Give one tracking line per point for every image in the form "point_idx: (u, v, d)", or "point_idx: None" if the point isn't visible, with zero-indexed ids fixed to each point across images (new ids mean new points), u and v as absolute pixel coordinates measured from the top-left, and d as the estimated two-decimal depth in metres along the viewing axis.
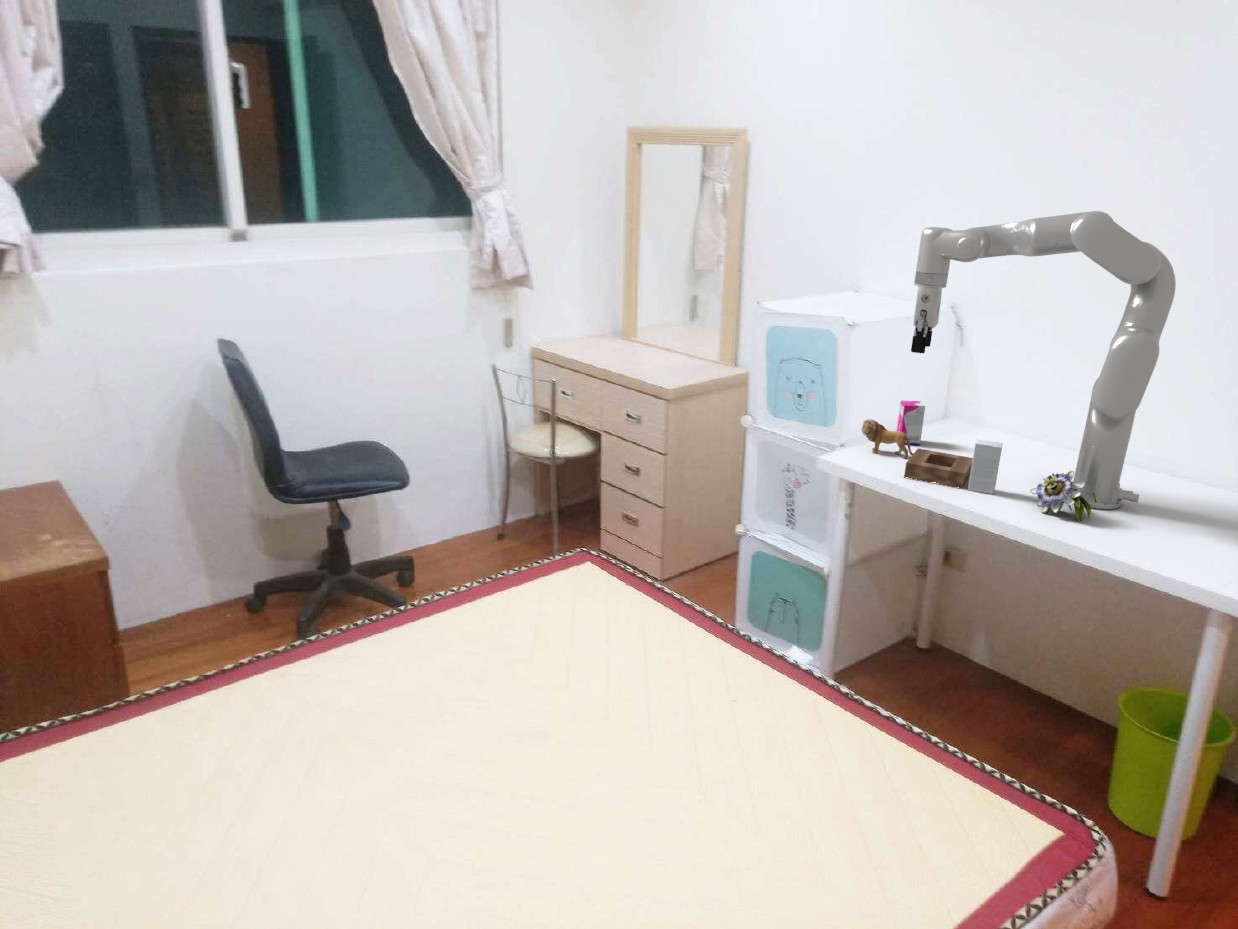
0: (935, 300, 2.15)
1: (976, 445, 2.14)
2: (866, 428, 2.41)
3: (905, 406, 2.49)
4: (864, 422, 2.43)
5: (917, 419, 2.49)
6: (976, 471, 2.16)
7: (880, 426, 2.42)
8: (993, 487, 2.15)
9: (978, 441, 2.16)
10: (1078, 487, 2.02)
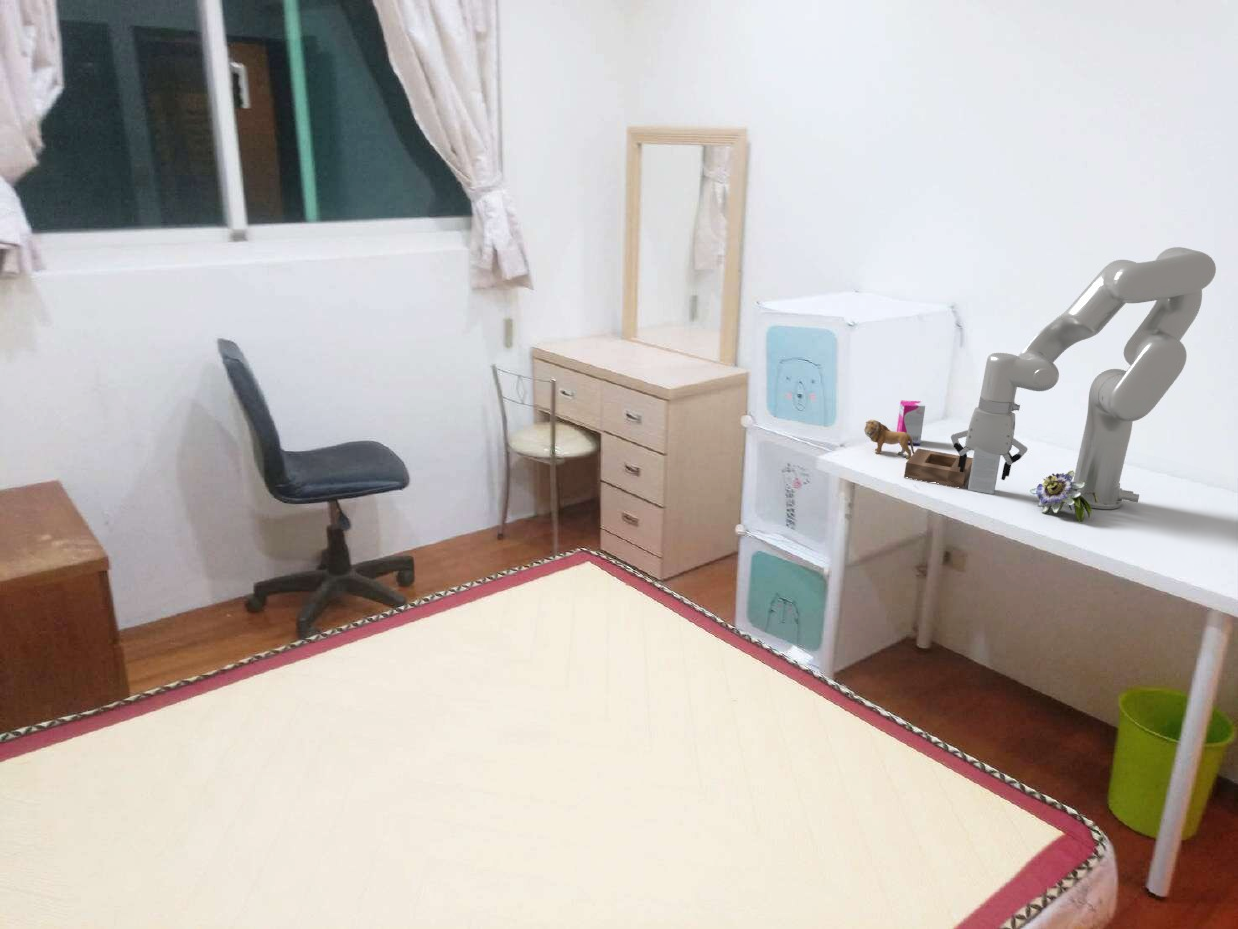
0: None
1: None
2: (869, 429, 2.40)
3: (905, 406, 2.49)
4: (867, 423, 2.42)
5: (917, 419, 2.49)
6: (976, 471, 2.16)
7: (883, 427, 2.41)
8: (993, 487, 2.15)
9: None
10: (1078, 487, 2.02)
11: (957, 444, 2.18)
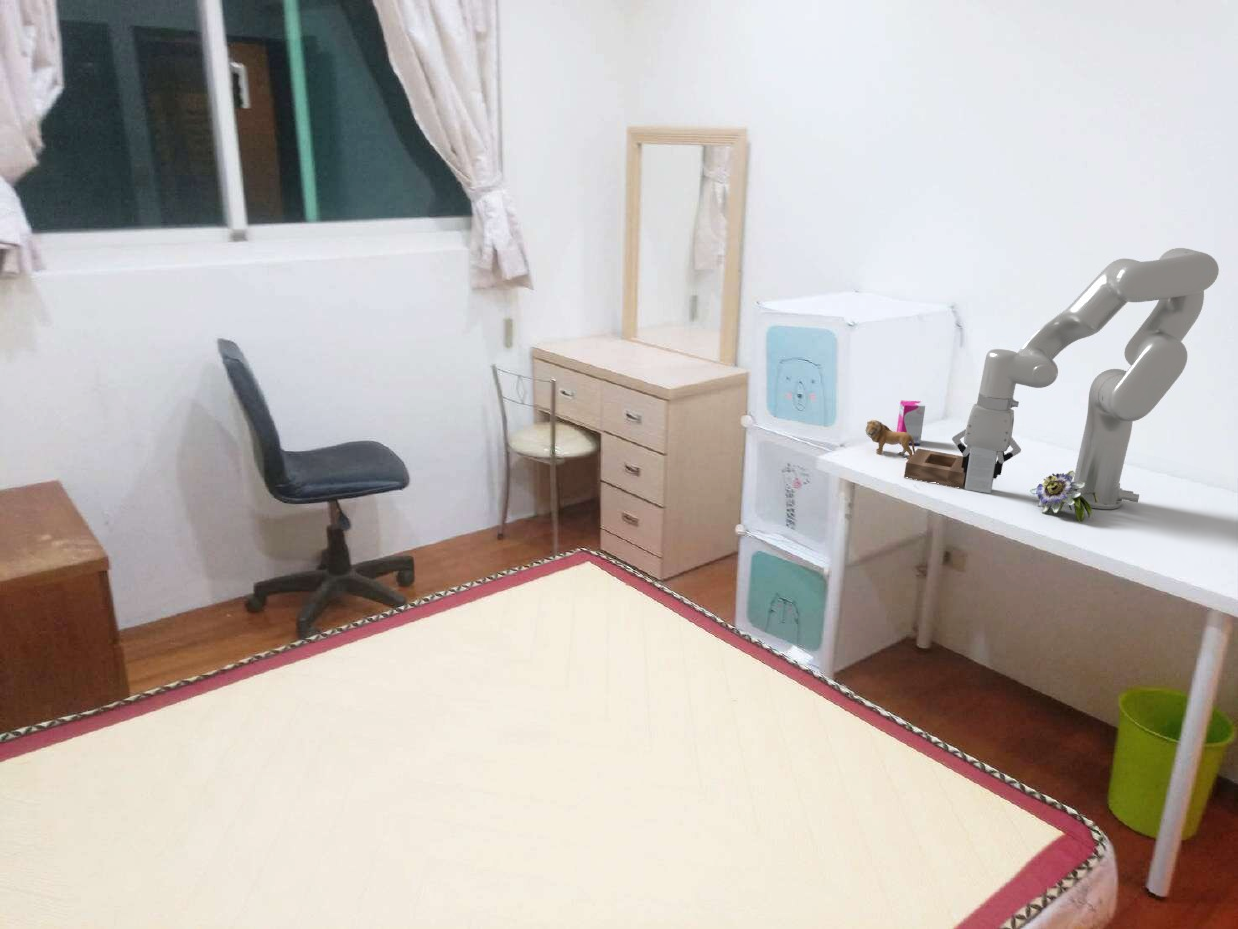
0: None
1: None
2: (870, 429, 2.40)
3: (905, 406, 2.49)
4: (868, 423, 2.42)
5: (917, 419, 2.49)
6: (973, 470, 2.16)
7: (884, 427, 2.41)
8: (990, 486, 2.15)
9: None
10: (1078, 487, 2.02)
11: (960, 444, 2.17)
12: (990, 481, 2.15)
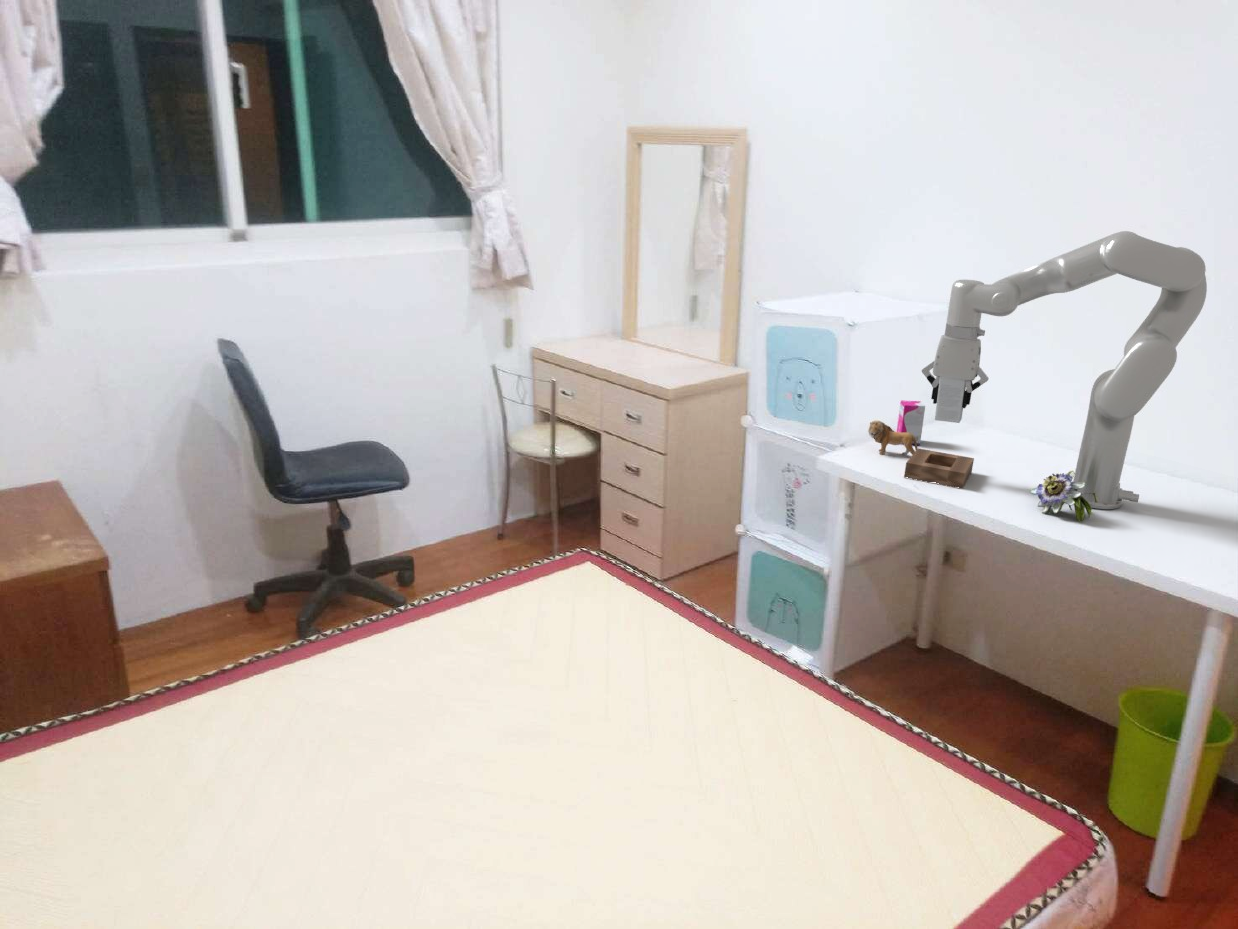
0: None
1: None
2: (873, 429, 2.40)
3: (905, 406, 2.49)
4: (871, 423, 2.42)
5: (917, 419, 2.49)
6: (942, 401, 2.20)
7: (887, 427, 2.41)
8: (959, 416, 2.20)
9: None
10: (1078, 487, 2.02)
11: (930, 376, 2.21)
12: (959, 411, 2.19)
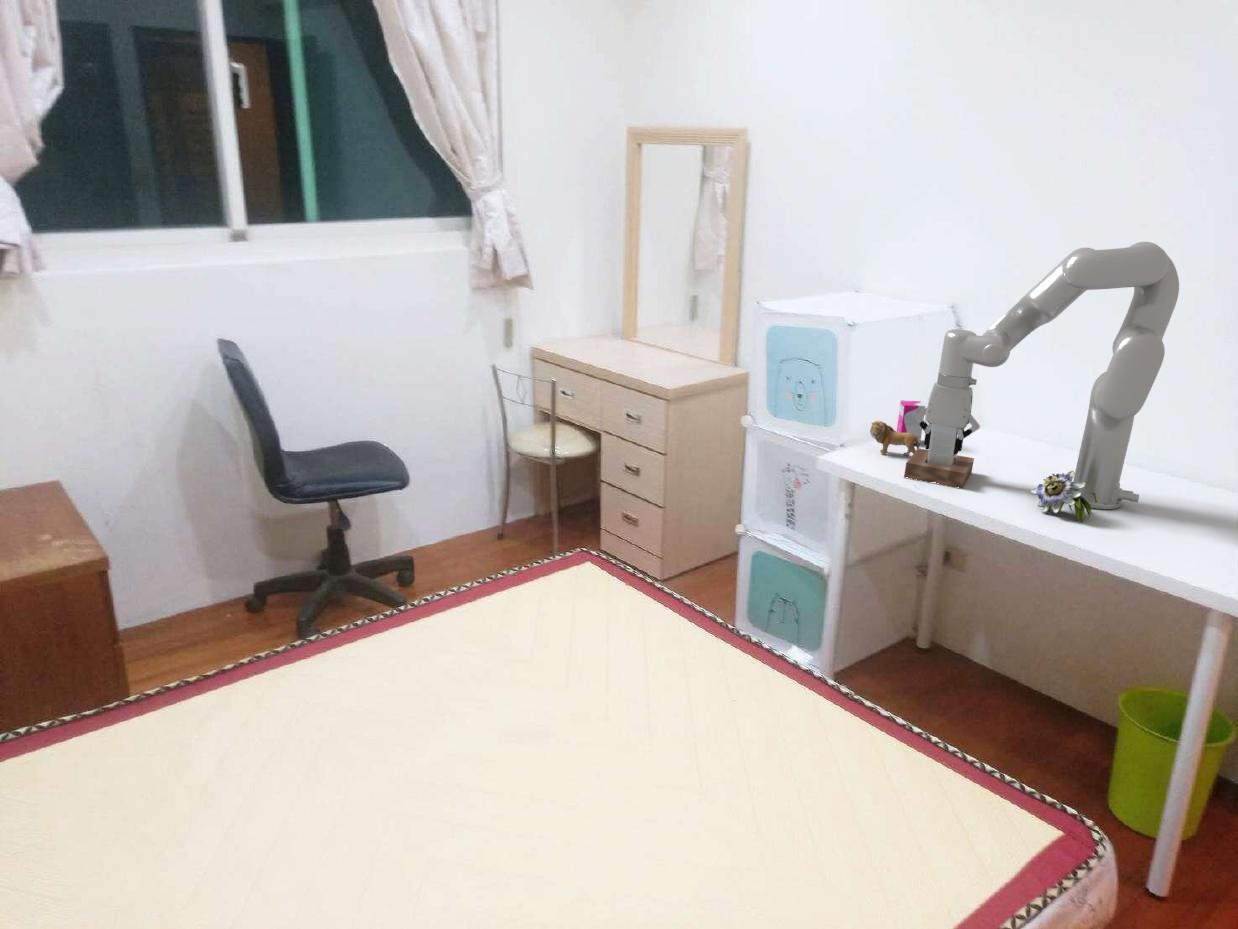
0: None
1: None
2: (875, 430, 2.40)
3: (905, 406, 2.49)
4: (872, 424, 2.41)
5: None
6: (934, 447, 2.24)
7: (889, 428, 2.41)
8: (950, 462, 2.23)
9: None
10: (1078, 487, 2.02)
11: (922, 422, 2.25)
12: (951, 457, 2.23)
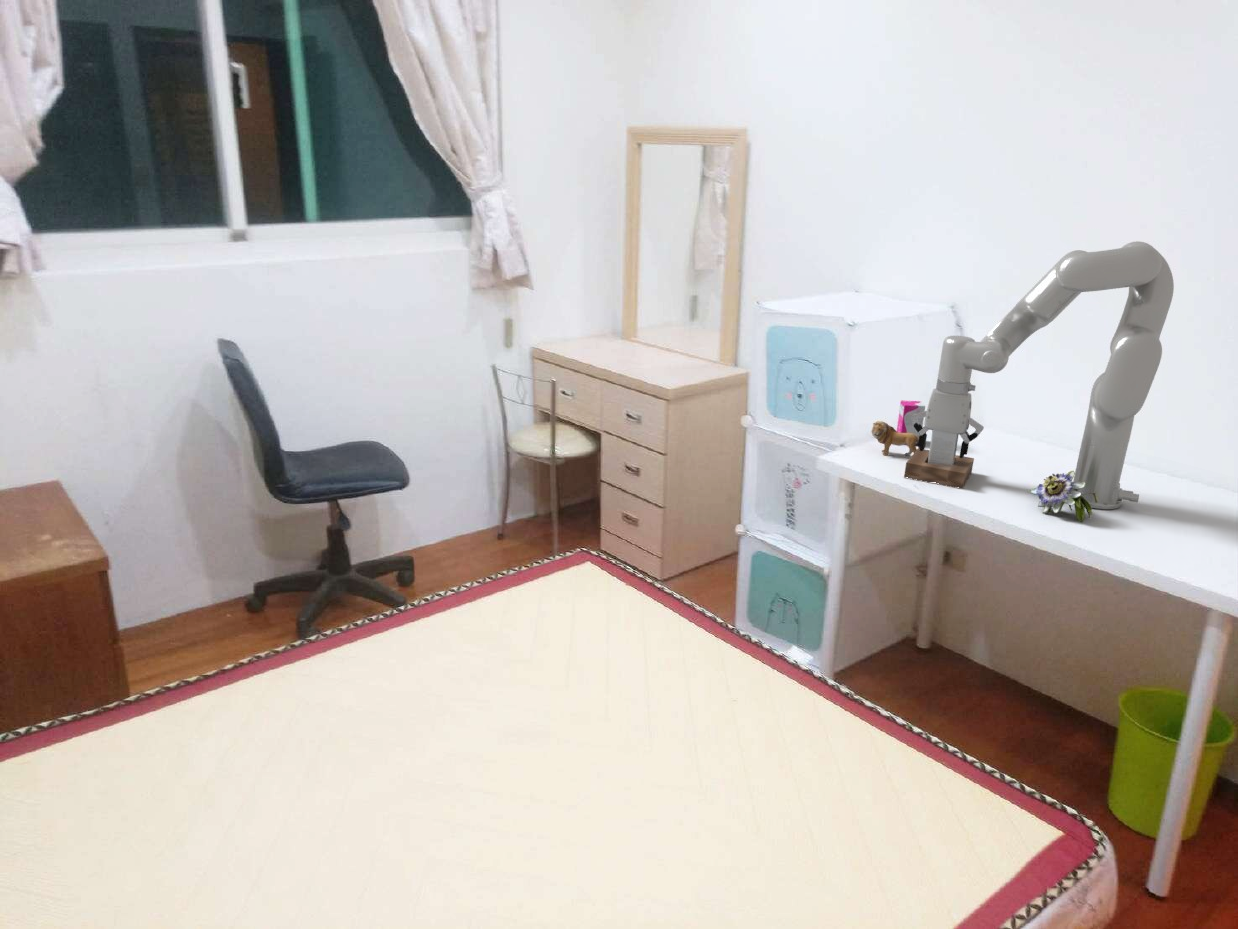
0: None
1: None
2: (877, 430, 2.39)
3: (905, 406, 2.49)
4: (874, 424, 2.41)
5: None
6: (934, 453, 2.25)
7: (890, 428, 2.41)
8: None
9: None
10: (1078, 487, 2.02)
11: (917, 424, 2.26)
12: (951, 463, 2.24)
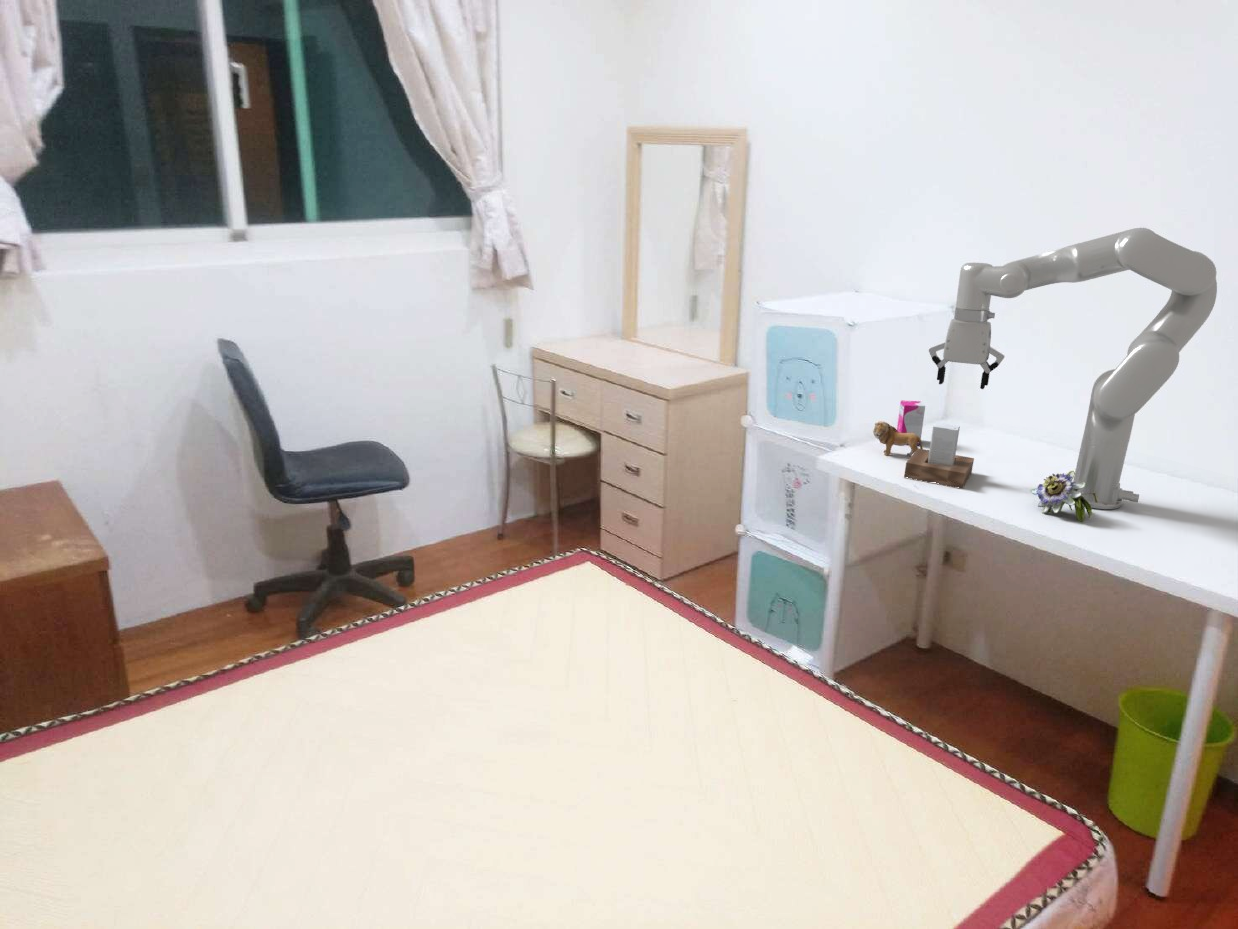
0: None
1: (934, 428, 2.23)
2: (878, 430, 2.39)
3: (905, 406, 2.49)
4: (876, 424, 2.41)
5: (917, 419, 2.49)
6: (934, 453, 2.25)
7: (892, 428, 2.40)
8: None
9: (936, 424, 2.25)
10: (1078, 487, 2.02)
11: (935, 357, 2.21)
12: (951, 463, 2.24)
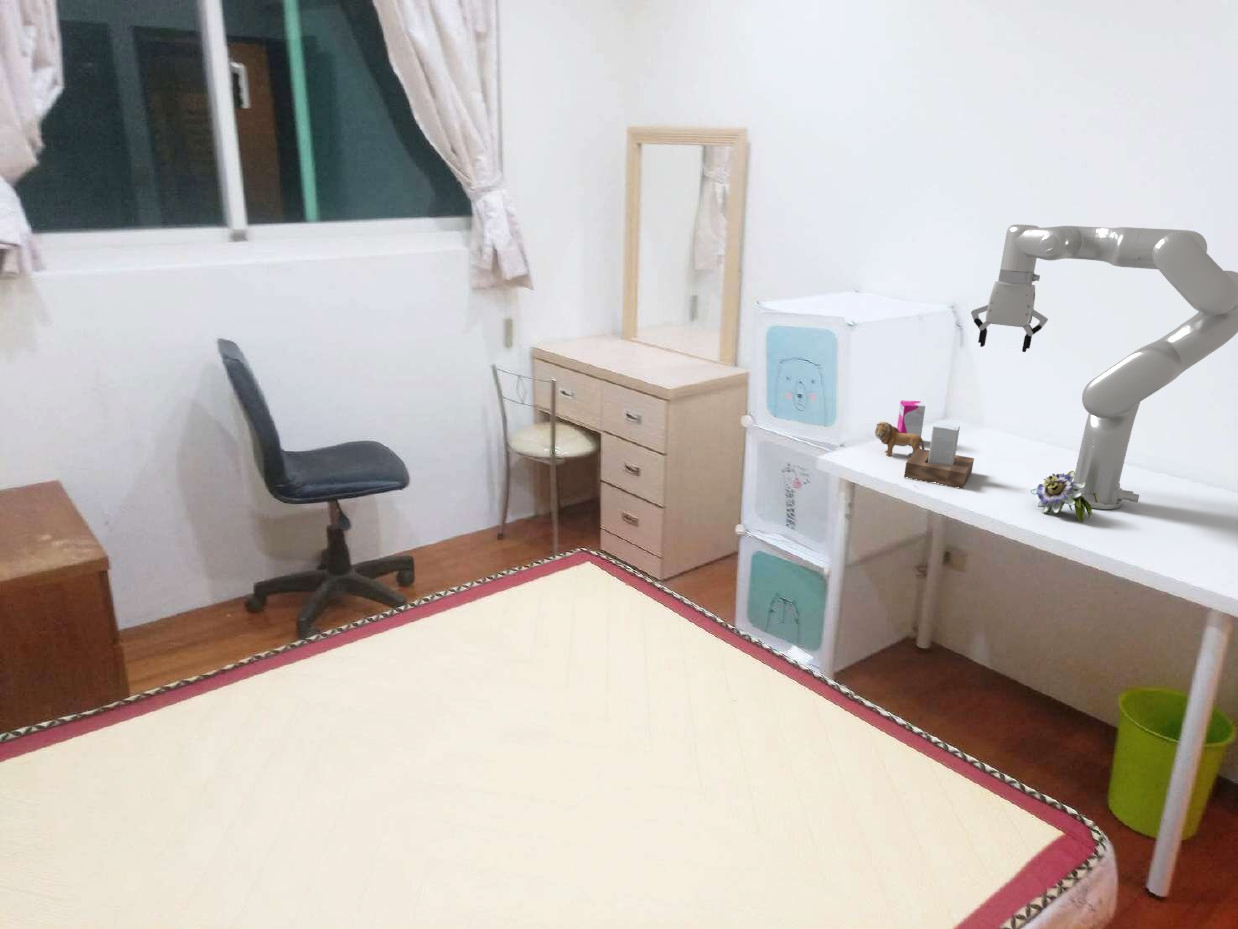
0: None
1: (934, 428, 2.23)
2: (880, 431, 2.39)
3: (905, 406, 2.49)
4: (877, 425, 2.40)
5: (917, 419, 2.49)
6: (934, 453, 2.25)
7: (894, 428, 2.40)
8: None
9: (936, 424, 2.25)
10: (1078, 487, 2.02)
11: (977, 319, 2.21)
12: (950, 463, 2.24)
